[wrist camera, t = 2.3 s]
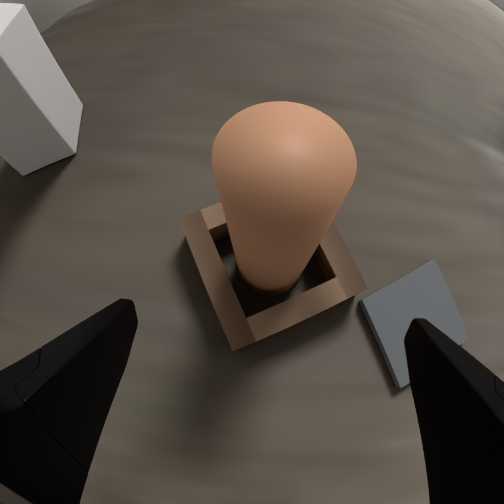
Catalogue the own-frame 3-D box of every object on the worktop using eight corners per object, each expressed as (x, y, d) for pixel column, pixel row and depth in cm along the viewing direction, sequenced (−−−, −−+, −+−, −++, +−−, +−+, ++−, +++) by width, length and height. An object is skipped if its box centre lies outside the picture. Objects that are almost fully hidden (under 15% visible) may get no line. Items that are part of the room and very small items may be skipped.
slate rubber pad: (396, 387, 18) (400, 388, 18) (358, 301, 20) (362, 299, 20) (463, 338, 19) (468, 338, 18) (429, 261, 21) (434, 258, 20)
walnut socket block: (235, 350, 20) (232, 351, 17) (187, 232, 22) (179, 219, 20) (355, 294, 20) (367, 288, 18) (299, 187, 23) (303, 170, 21)
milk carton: (83, 105, 27) (9, -28, 9) (76, 155, 25) (-31, 8, 6) (34, 127, 26) (-49, 18, 8) (23, 177, 24) (-88, 65, 6)
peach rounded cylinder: (253, 305, 20) (246, 244, 8) (228, 247, 22) (192, 126, 9) (312, 279, 21) (382, 188, 8) (285, 224, 22) (311, 89, 10)
